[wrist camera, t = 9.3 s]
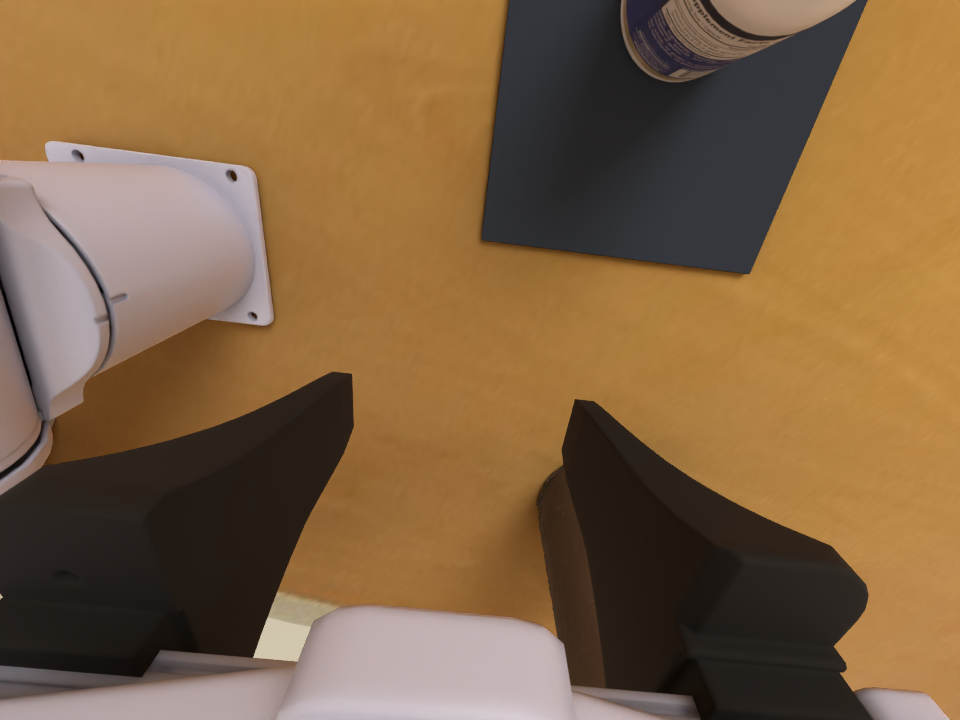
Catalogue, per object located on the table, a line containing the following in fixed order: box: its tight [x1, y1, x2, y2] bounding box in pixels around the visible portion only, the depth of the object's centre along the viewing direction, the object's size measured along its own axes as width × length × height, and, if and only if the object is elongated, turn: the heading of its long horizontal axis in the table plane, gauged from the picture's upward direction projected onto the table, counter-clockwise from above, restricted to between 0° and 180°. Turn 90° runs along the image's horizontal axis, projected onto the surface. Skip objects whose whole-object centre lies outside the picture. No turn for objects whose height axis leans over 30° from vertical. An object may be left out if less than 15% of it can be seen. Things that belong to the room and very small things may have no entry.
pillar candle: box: [537, 466, 606, 689], centre depth 21 cm, size 10×10×15 cm
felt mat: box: [481, 0, 868, 274], centre depth 15 cm, size 14×20×1 cm
